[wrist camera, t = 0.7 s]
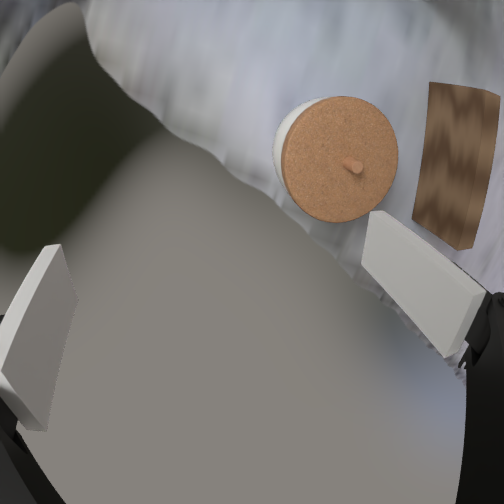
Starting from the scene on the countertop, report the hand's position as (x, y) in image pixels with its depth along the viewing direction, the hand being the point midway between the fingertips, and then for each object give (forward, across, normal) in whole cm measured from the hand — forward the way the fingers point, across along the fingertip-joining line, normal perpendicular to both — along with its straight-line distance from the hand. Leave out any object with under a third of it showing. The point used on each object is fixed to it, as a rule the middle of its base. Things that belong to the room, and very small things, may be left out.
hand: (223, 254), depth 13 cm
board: (+19, +29, 0) cm, 34 cm away
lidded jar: (+19, +12, +1) cm, 22 cm away
